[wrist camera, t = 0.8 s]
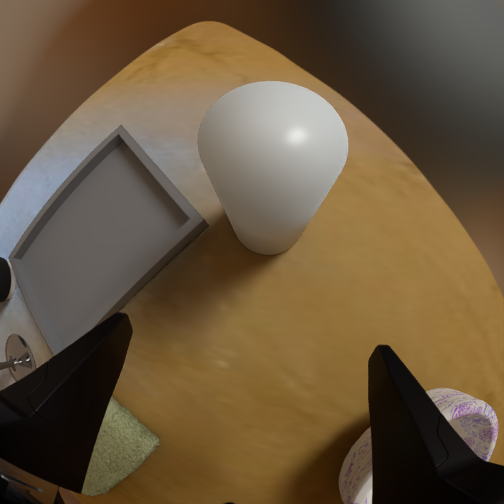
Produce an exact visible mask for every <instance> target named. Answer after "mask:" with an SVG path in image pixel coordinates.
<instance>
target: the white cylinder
mask: <svg viewBox="0 0 504 504" xmlns="http://www.w3.org/2000/svg"><path fill="white" fill-rule="evenodd" d="M198 150H199V154H200V158H201V160H202V162H203V165H204V167H205V169H206V171H207V174H208V176H209V178H210V180H211V182H212V184H213V187H214V189H215V191H216V193H217V195H218V197H219V200H220V202H221V204H222V206H223V208H224V210H225V212H226V215H227V217H228V219H229V221H230V223H231V225H232V228H233V230H234V232H235V234H236V236H237V238H238V239H239V241H240V242H241V243H242V244H243V245H244V246H245V247H246V248H248V249H249V250H251V251H253V252H255V253H258V254H263V255H274V254H279V253H282V252H284V251H286V250H288V249H289V248H291V247H292V246H293V245H294V244H295V243H296V242H297V241H298V239H299V238H300V236H301V235H302V233H303V232H304V230H305V228H306V227H307V225H308V224H309V222H310V221H311V219H312V218H313V216H314V214H315V213H316V211H317V210H318V208H319V207H320V205H321V203H322V202H323V200H324V199H325V197H326V195H327V194H328V192H329V191H330V189H331V187H332V186H333V184H334V183H335V181H336V179H337V178H338V176H339V175H340V173H341V171H342V169H343V167H344V165H345V162H346V159H347V155H348V137H347V132H346V129H345V126H344V124H343V122H342V120H341V118H340V116H339V115H338V113H337V112H336V111H335V109H334V108H333V107H332V106H331V105H330V104H329V103H328V102H327V101H326V100H324V99H323V98H322V97H320V96H319V95H317V94H316V93H314V92H312V91H310V90H309V89H306V88H304V87H301V86H298V85H295V84H291V83H286V82H279V81H263V82H255V83H250V84H246V85H243V86H240V87H238V88H236V89H233V90H231V91H230V92H228V93H226V94H225V95H223V96H222V97H221V98H219V99H218V100H217V101H216V102H215V103H214V104H213V105H212V106H211V107H210V109H209V110H208V111H207V113H206V114H205V116H204V118H203V120H202V123H201V125H200V129H199V133H198Z"/></svg>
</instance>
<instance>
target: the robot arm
mask: <svg viewBox="0 0 504 504" xmlns="http://www.w3.org/2000/svg"><path fill="white" fill-rule="evenodd" d="M132 332H133V330H132V326H131V323H130V320H129V317H128V315H127V314H126V313H121V312H116V313H114V314H113V315H111V316H110V317H108V318H107V319H106V320H104V321H103V322H101V323H100V324H98V325H97V326H96V327H94V328H93V329H91V330H90V331H88V332H87V333H86V334H84V335H83V336H81V337H80V338H79V339H77V340H76V341H74V342H73V343H72V344H70V345H69V346H67V347H66V348H65V349H63V350H62V351H61V352H59V353H58V354H56V355H55V356H54V357H52V358H51V359H50V360H49V361H47V362H45V363H44V364H43V365H41V366H40V367H39V368H37V369H36V370H34V371H33V372H31V373H30V374H28V375H27V376H25V377H23V378H22V379H20V380H18V381H17V382H15V383H13V384H12V385H10V386H8V387H7V388H5V389H3V390H1V391H0V504H65V503H64V501H63V499H62V497H61V495H60V493H59V491H58V489H59V487H62V488H65V489H68V490H70V491H73V492H76V493H79V494H81V492H82V489H83V485H84V481H85V477H86V474H87V470H88V467H89V463H90V460H91V456H92V453H93V449H94V446H95V443H96V440H97V437H98V434H99V431H100V428H101V425H102V422H103V419H104V416H105V413H106V410H107V408H108V405H109V402H110V399H111V397H112V394H113V391H114V389H115V386H116V383H117V381H118V378H119V376H120V373H121V370H122V368H123V364H124V361H125V357H126V354H127V350H128V347H129V343H130V340H131V337H132ZM368 402H369V414H370V428H371V446H372V504H504V466H502V465H499V464H495V463H491V462H487V461H485V460H483V459H481V458H480V457H479V456H477V455H476V454H475V452H474V451H473V450H472V449H471V448H470V447H469V446H468V445H467V443H466V442H465V441H464V440H463V439H462V438H461V437H460V436H459V434H458V433H457V432H456V431H455V430H454V428H453V427H452V426H451V425H450V423H449V422H448V421H447V419H446V418H445V417H444V415H443V414H442V413H440V410H439V409H438V407H437V406H436V405H435V403H434V402H433V401H432V399H431V398H430V397H429V395H428V394H427V393H426V391H425V390H424V389H423V388H422V386H421V385H420V384H419V382H418V381H417V380H416V379H415V377H414V376H413V375H412V373H411V372H410V371H409V370H408V368H407V367H406V366H405V365H404V363H403V362H402V361H401V360H400V358H399V357H398V356H397V355H396V353H395V352H394V351H393V350H392V349H391V347H390V346H389V345H378V346H377V347H376V348H375V350H374V351H373V353H372V355H371V356H370V358H369V361H368ZM226 504H234V503H226Z"/></svg>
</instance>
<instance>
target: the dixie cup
mask: <svg viewBox="0 0 504 504" xmlns="http://www.w3.org/2000/svg"><path fill="white" fill-rule="evenodd" d="M15 286H16V277H15V274H14V272H13V269H12V266H11V264H10V262H7V261H6V260H5V259H4V258H1V257H0V302H3V301H5V300H7V299H10V298H11V297H12V296H13V294H14V291H15Z"/></svg>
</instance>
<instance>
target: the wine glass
mask: <svg viewBox="0 0 504 504" xmlns="http://www.w3.org/2000/svg"><path fill="white" fill-rule="evenodd" d="M5 354H6V361H7V362H0V370H2V369H5V368H9V370H10V372H11V374H12V376H13V378H14V379H15V381H16V382H17V381H18V380H20V379H22V378H23V377H25V376H27V375H28V374H30V373H31V372H33V371H34V370H36V364H35V360H34V357H33V354H32V352H31V350H30V348H29V346H28V345H27V343H26V342H25V340H24V339H23V338H22V337H21V336H19V335H17V334H12V335H10V336H9V337H8V339H7V342H6V346H5Z"/></svg>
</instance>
